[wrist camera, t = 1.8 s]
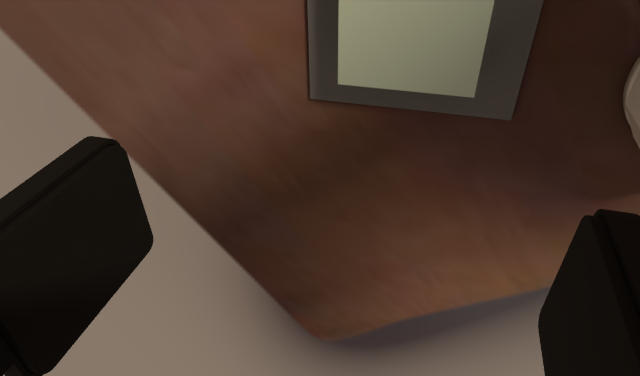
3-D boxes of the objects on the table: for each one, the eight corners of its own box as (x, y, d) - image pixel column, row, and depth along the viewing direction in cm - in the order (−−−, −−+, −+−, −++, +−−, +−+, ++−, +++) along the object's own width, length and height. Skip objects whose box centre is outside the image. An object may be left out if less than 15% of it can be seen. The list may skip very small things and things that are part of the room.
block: (503, -72, 20) (507, -62, 18) (474, 74, 24) (474, 97, 22) (353, -75, 22) (339, -66, 19) (349, 63, 26) (337, 84, 24)
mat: (580, -141, 18) (582, -141, 18) (510, 117, 26) (511, 120, 25) (305, -137, 21) (303, -137, 21) (312, 96, 28) (310, 98, 28)
